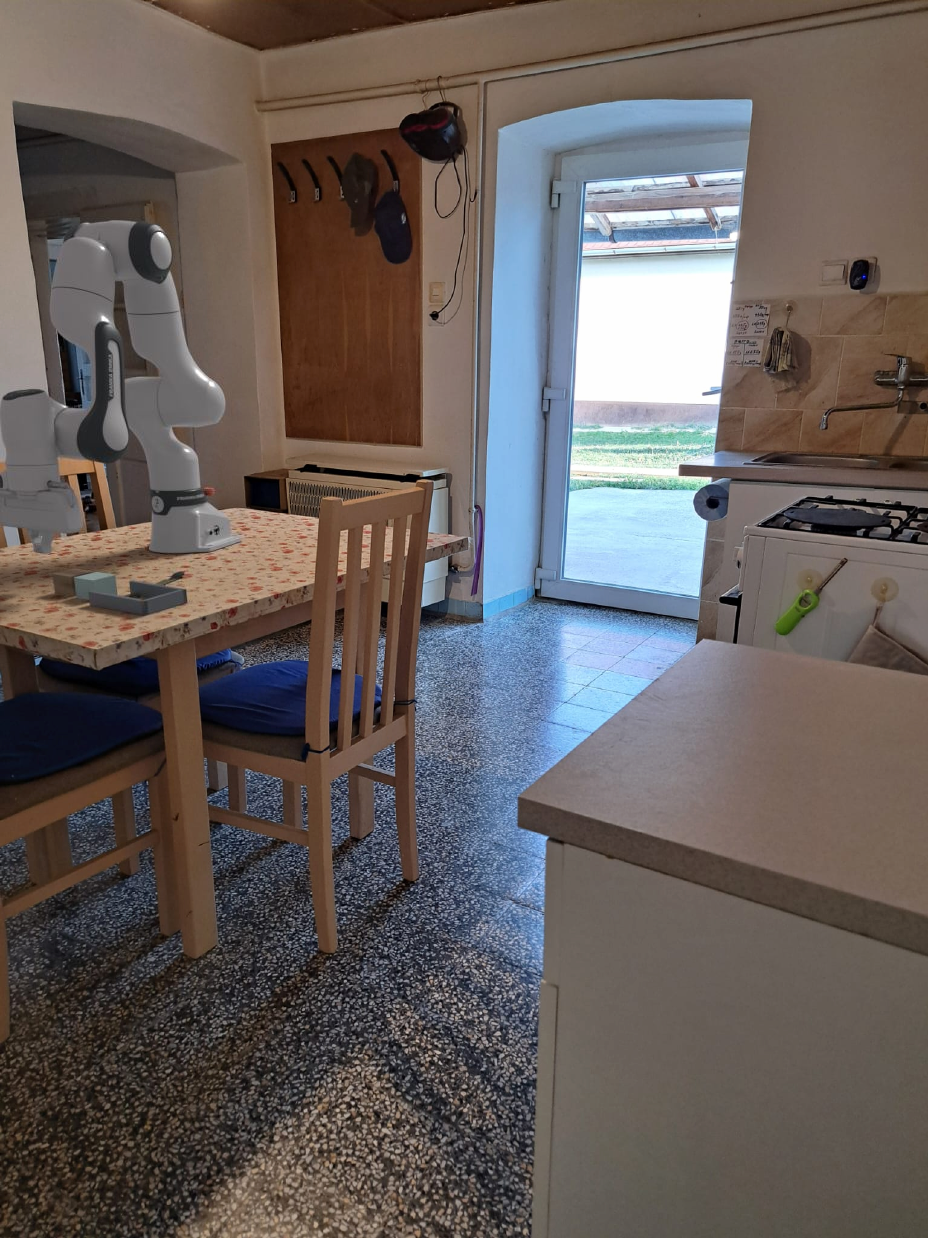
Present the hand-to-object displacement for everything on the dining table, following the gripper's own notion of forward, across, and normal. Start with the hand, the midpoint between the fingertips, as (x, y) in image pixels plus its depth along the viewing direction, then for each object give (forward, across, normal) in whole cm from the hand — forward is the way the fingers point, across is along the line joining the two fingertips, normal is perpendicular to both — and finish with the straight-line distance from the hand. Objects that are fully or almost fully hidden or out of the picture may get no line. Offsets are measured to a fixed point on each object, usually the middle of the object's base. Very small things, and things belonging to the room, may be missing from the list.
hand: (43, 552), depth 160 cm
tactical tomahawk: (+8, -19, -11) cm, 23 cm away
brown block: (+7, -7, -1) cm, 10 cm away
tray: (+7, -24, -1) cm, 25 cm away
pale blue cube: (+7, -13, -1) cm, 15 cm away
